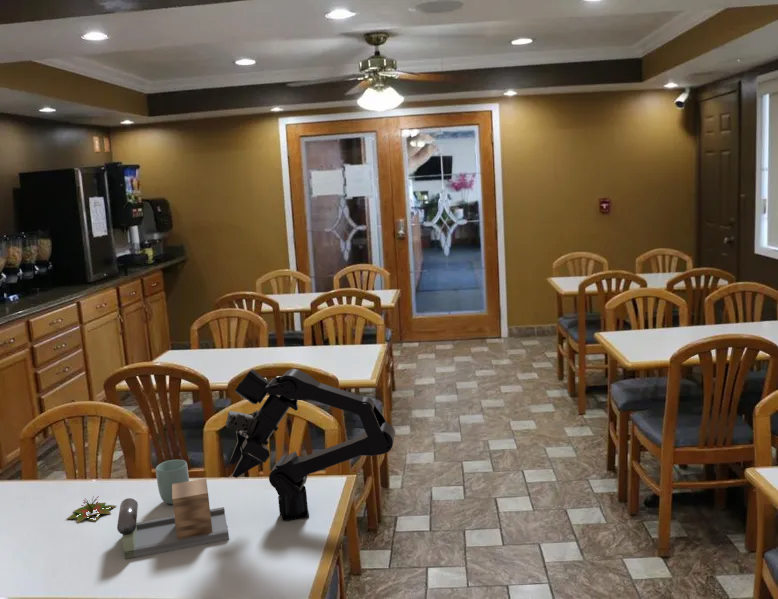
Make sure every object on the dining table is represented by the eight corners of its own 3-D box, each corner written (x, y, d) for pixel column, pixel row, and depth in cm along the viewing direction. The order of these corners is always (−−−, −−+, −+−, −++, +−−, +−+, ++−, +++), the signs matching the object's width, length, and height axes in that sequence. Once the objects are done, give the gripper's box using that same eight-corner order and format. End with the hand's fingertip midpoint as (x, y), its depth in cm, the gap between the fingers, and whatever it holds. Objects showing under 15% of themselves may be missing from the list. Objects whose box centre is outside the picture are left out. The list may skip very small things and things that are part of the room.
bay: (224, 513, 186) (221, 479, 184) (229, 539, 173) (225, 503, 171) (124, 532, 179) (119, 497, 178) (120, 560, 166) (115, 522, 165)
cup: (182, 508, 191) (178, 471, 189) (154, 507, 192) (150, 470, 190) (196, 495, 198) (191, 459, 196) (169, 494, 200) (165, 459, 198)
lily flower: (87, 502, 199) (85, 486, 198) (126, 505, 195) (123, 489, 195) (56, 524, 187) (53, 507, 186) (97, 527, 184) (94, 510, 183)
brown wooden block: (210, 516, 182) (206, 478, 181) (212, 533, 174) (208, 493, 172) (176, 522, 180) (172, 483, 179) (177, 539, 172) (172, 499, 170)
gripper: (238, 389, 185) (202, 441, 184) (245, 408, 167) (205, 466, 166) (275, 411, 188) (239, 463, 187) (286, 433, 170) (247, 490, 169)
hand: (232, 470), depth 177 cm, fingers open, 9 cm apart
